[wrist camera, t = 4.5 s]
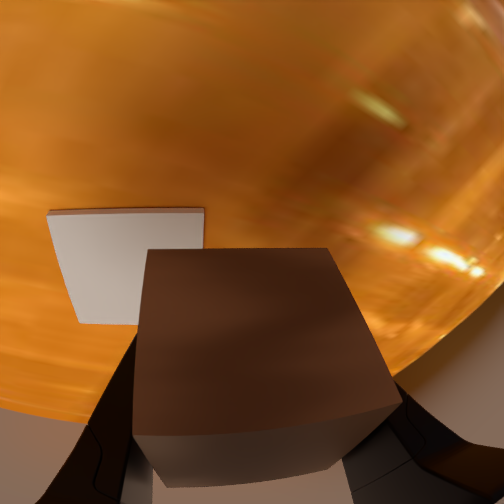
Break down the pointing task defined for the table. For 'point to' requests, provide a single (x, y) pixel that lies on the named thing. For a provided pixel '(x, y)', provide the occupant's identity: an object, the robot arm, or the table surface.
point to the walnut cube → (252, 366)
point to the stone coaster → (116, 255)
